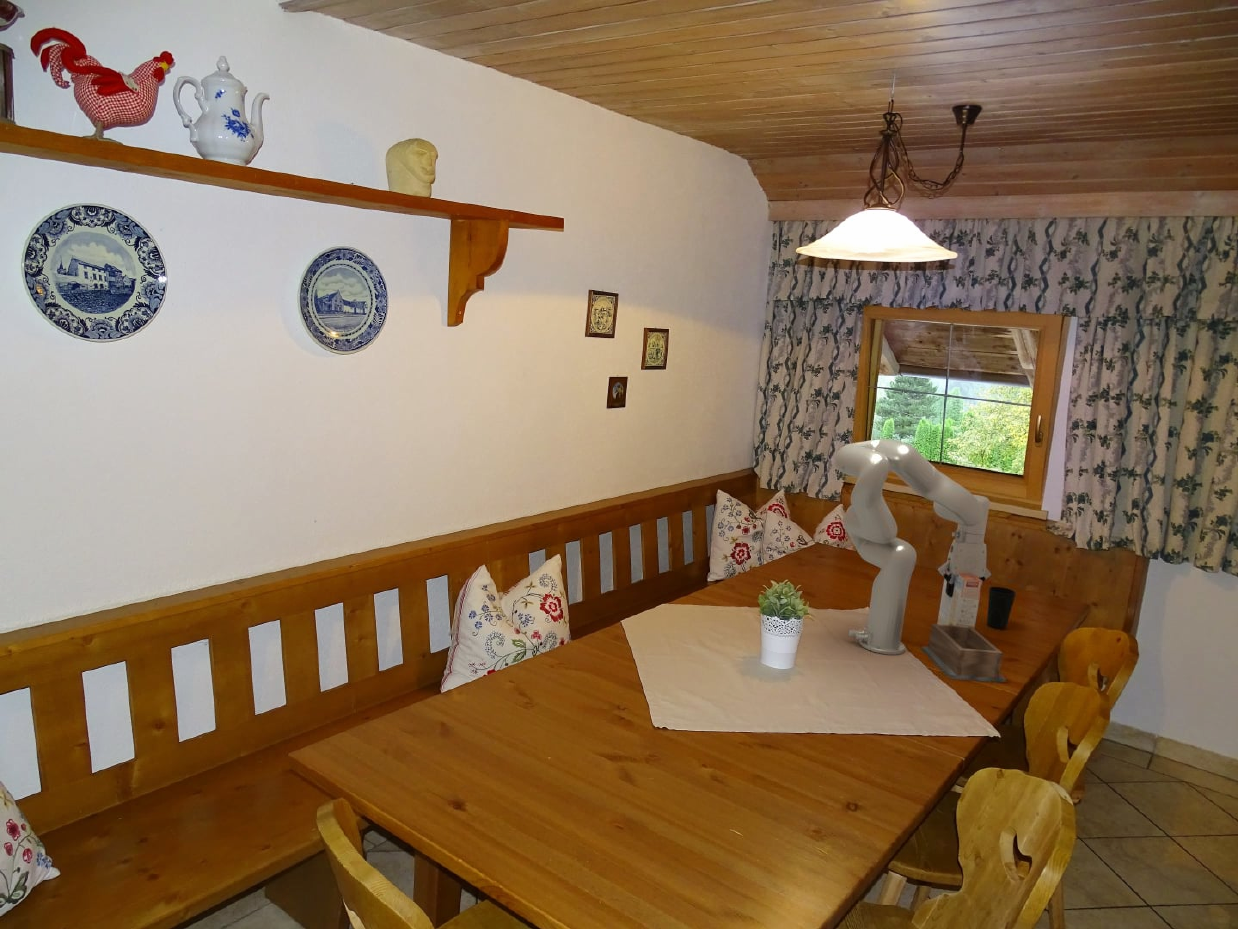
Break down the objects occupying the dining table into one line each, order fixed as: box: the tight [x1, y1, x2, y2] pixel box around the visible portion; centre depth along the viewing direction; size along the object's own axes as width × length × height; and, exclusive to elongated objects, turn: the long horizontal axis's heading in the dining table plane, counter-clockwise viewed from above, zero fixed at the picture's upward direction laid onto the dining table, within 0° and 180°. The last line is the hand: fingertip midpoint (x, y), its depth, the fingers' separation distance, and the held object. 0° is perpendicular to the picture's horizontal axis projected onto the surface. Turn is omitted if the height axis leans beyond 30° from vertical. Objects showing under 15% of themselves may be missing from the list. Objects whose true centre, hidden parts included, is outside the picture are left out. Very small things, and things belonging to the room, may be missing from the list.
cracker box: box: [936, 570, 983, 629], centre depth 260 cm, size 14×6×21 cm, turn 179°
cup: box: [986, 586, 1017, 631], centre depth 276 cm, size 8×8×12 cm
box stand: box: [920, 623, 1006, 683], centre depth 241 cm, size 15×20×8 cm
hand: (960, 596), depth 259 cm, fingers closed on cracker box, 6 cm apart
